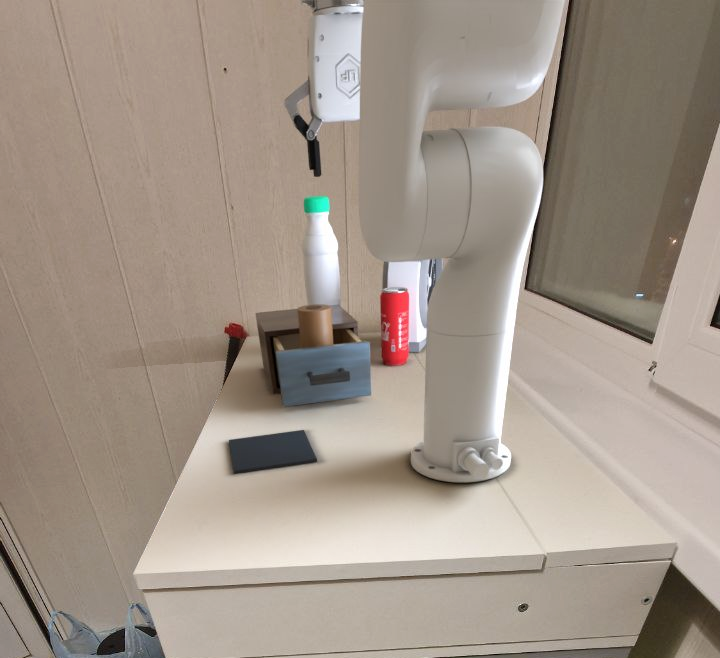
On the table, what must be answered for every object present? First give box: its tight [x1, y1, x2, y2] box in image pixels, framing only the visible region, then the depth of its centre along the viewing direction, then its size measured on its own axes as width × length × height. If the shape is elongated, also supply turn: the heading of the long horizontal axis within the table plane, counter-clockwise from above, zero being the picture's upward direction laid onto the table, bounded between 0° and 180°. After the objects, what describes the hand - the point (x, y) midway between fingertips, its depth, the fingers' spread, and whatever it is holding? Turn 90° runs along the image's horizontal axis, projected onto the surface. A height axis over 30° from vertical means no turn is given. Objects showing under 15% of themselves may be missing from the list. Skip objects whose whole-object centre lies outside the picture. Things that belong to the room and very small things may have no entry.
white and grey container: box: [381, 258, 444, 353], centre depth 109 cm, size 18×8×20 cm, turn 162°
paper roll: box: [296, 304, 333, 348], centre depth 89 cm, size 5×5×11 cm
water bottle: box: [300, 195, 342, 307], centre depth 109 cm, size 7×7×25 cm
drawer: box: [271, 328, 372, 407], centre depth 90 cm, size 19×14×8 cm
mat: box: [228, 429, 318, 474], centre depth 76 cm, size 11×11×1 cm
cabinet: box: [255, 305, 360, 394], centre depth 99 cm, size 16×16×10 cm
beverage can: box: [379, 287, 410, 367], centre depth 103 cm, size 5×5×12 cm
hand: (349, 174), depth 83 cm, fingers open, 9 cm apart
